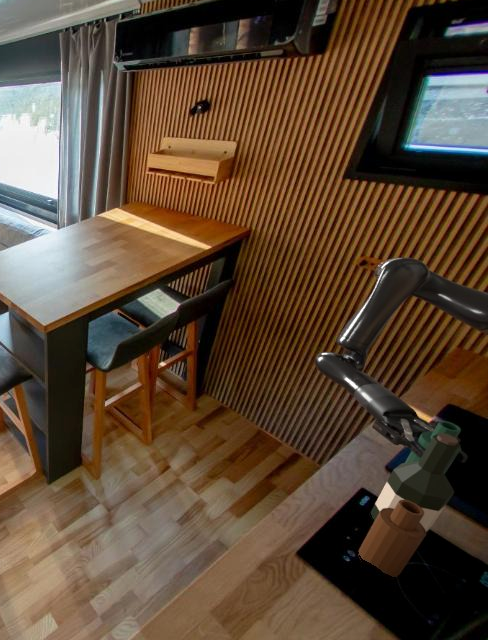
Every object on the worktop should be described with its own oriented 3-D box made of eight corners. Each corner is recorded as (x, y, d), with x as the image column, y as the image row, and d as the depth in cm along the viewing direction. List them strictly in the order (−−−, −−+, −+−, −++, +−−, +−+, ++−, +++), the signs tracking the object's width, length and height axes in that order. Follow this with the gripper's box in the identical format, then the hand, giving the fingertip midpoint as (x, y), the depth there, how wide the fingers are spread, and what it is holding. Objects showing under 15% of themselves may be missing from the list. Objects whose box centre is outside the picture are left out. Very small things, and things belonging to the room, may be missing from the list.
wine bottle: (369, 527, 86) (416, 441, 73) (369, 501, 91) (414, 415, 78) (425, 553, 80) (487, 463, 67) (422, 523, 85) (480, 434, 72)
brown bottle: (388, 552, 81) (421, 497, 73) (406, 582, 76) (444, 526, 68) (352, 544, 83) (381, 489, 75) (367, 573, 79) (400, 518, 70)
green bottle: (426, 469, 90) (458, 418, 83) (443, 490, 86) (478, 438, 78) (395, 464, 93) (423, 414, 85) (410, 484, 88) (441, 433, 80)
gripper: (354, 394, 98) (413, 446, 83) (422, 394, 94) (495, 450, 79) (346, 413, 101) (401, 467, 86) (411, 415, 97) (480, 472, 82)
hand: (446, 459), depth 83 cm, fingers closed on green bottle, 5 cm apart
